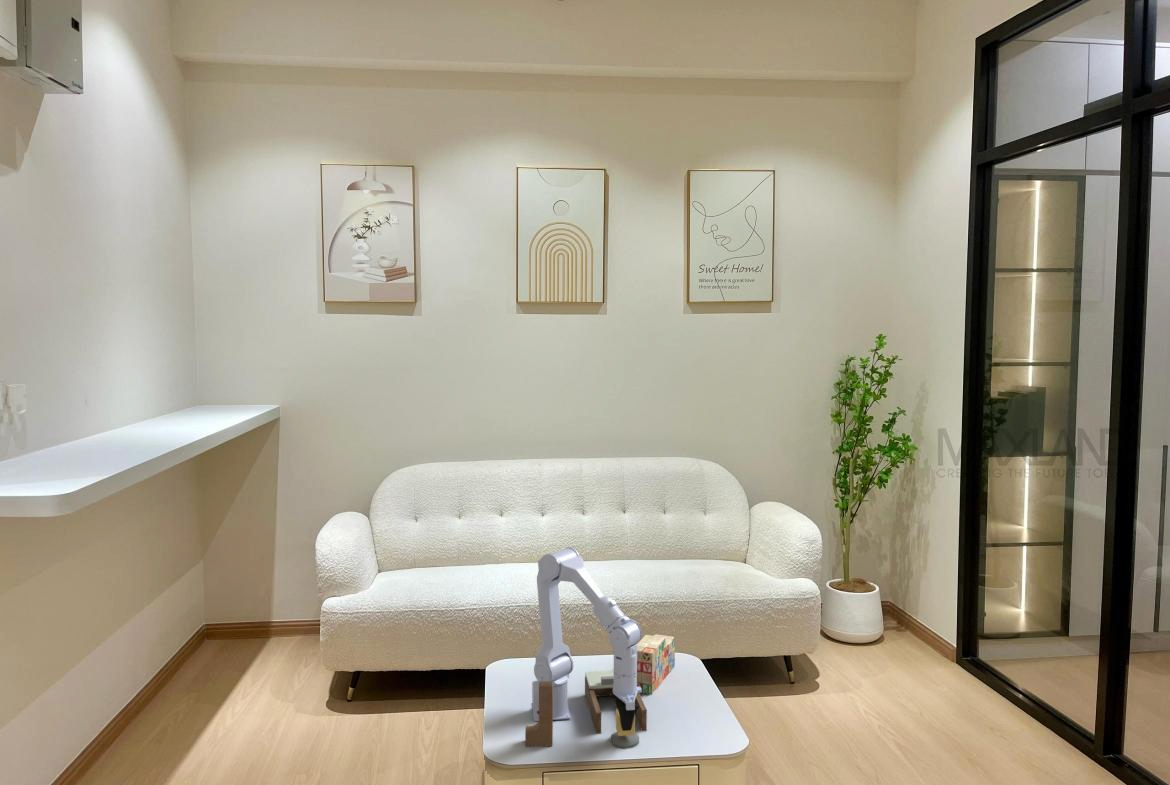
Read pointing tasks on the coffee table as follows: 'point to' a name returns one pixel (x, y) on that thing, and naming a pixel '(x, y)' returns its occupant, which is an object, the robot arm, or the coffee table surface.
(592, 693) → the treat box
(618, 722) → the ochre block
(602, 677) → the lid
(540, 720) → the wooden block
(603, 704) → the coffee table surface
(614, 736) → the coaster
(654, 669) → the stack of blocks
